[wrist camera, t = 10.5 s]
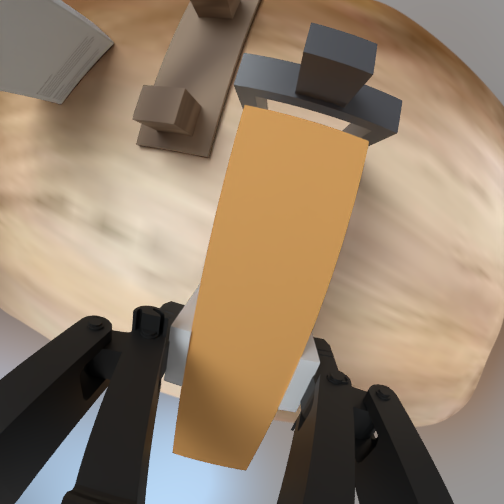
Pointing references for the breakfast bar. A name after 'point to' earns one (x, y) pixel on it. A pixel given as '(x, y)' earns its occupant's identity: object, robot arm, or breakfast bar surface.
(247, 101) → the grey gate frame
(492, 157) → the breakfast bar surface
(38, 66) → the skincare box
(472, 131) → the breakfast bar surface
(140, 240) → the breakfast bar surface
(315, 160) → the orange tapered block
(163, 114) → the rest
